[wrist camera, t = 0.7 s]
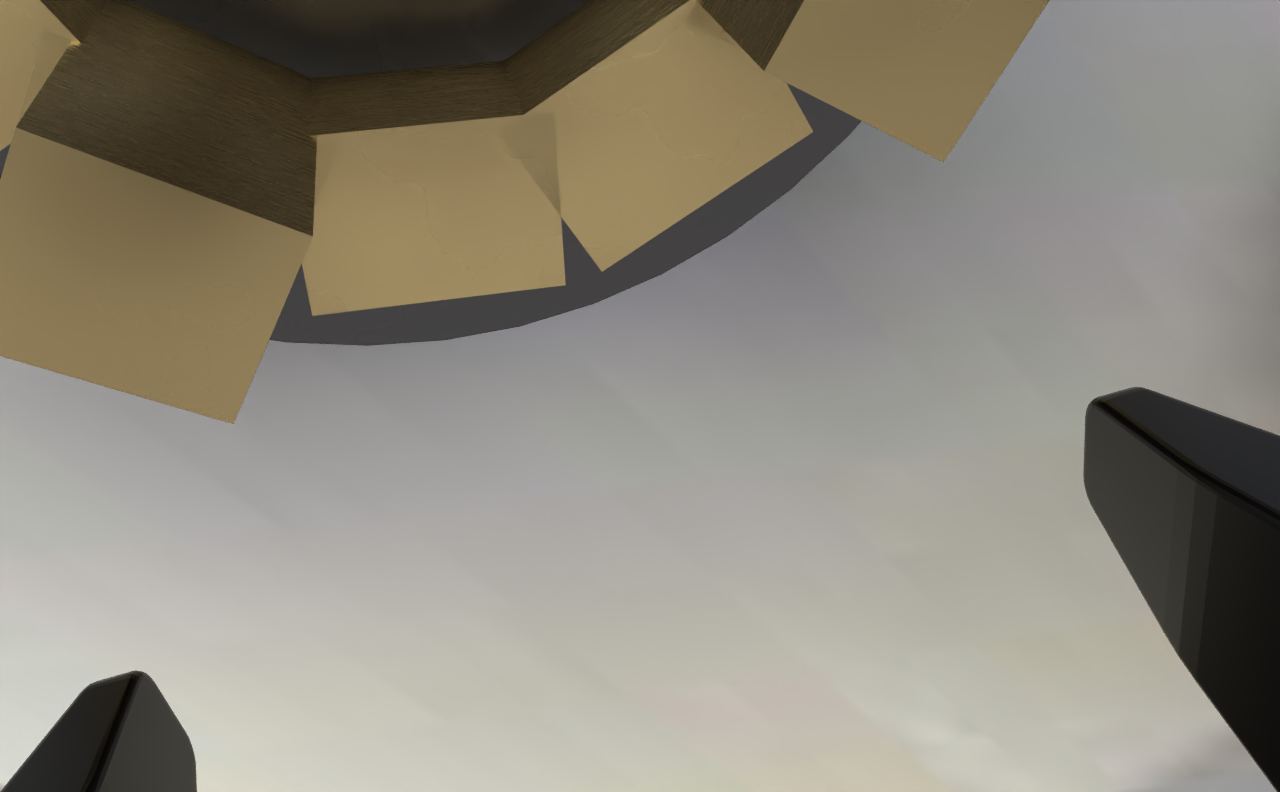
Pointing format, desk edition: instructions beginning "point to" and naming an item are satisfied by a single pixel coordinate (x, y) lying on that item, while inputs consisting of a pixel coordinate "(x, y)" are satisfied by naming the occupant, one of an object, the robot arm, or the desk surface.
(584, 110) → the ring nut
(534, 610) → the desk surface
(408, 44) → the cap plate
